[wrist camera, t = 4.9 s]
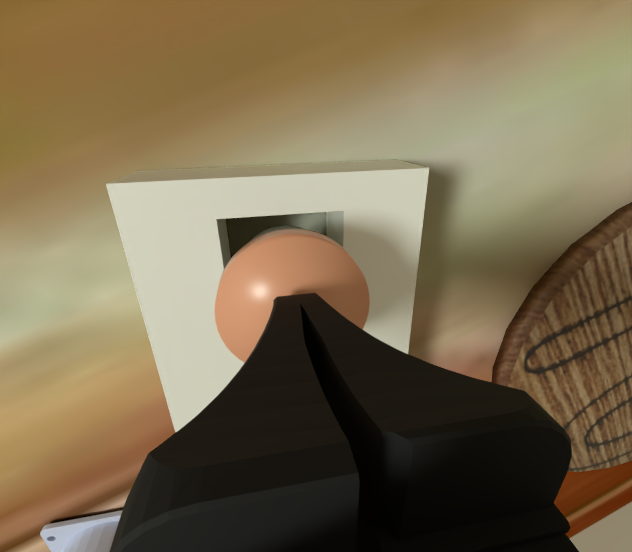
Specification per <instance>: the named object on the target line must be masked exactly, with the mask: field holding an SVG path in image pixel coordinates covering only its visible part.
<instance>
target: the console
mask: <svg viewBox="0 0 632 552" xmlns="http://www.w3.org/2000/svg"><path fill="white" fill-rule="evenodd" d="M428 175H429V168H428V167H424V166H420V165H416V164H412V163H408V162H404V161H400V160H396V159H392V160H369V161H347V162H324V163H301V164H279V165H256V166H233V167H211V168H188V169H165V170H143V171H135V172H133V173H130V174H128V175H125V176H123V177H121V178H118V179H116V180H114V181H111V182H109V183H107V184H106V186H107V189H108V193H109V197H110V200H111V204H112V207H113V211H114V214H115V218H116V222H117V225H118V229H119V232H120V236H121V239H122V243H123V247H124V250H125V254H126V257H127V261H128V264H129V268H130V272H131V275H132V279H133V282H134V286H135V289H136V293H137V297H138V300H139V304H140V307H141V311H142V315H143V318H144V322H145V325H146V329H147V332H148V336H149V340H150V343H151V347H152V350H153V354H154V357H155V361H156V365H157V368H158V372H159V375H160V379H161V382H162V386H163V390H164V393H165V397H166V400H167V404H168V407H169V411H170V415H171V418H172V422H173V425H174V429H175V432H177V431H179V430H180V429H181V428H182V427H184V426H185V425H186V424H187V423H189V422H190V421H191V420H192V419H193V418H195V417H196V416H197V415H198V414H199V413H200V412H201V411H202V410H203V409H204V408H205V407H206V406H207V405H208V404H209V403H210V402H212V401H213V400H214V399H215V398H216V397H217V396H218V395H219V394H220V392H221V391H222V390H223V389H224V388H225V387H226V386H227V385H228V383H229V382H230V381H231V380H232V379H233V377H234V376H235V375H236V374H237V372H238V371H239V370H240V369H241V367H242V366H243V364H244V362H243V361H241V360H240V359H238V358H237V357H236V356H235V355H234V354H233V353H231V351H230V350H229V349H228V348H227V347H226V345H225V344H224V342H223V340H222V339H221V337H220V334H219V332H218V330H217V326H216V322H215V301H216V296H217V290H218V286H219V281H220V278H221V275H222V273H223V271H224V269H225V267H226V265H227V263H228V262H229V261H230V259H231V254H230V247H229V240H228V233H227V226H226V219H227V218H242V217H257V216H272V215H287V214H302V213H317V212H326V224H327V237H329V238H331V239H332V240H334V241H335V242H337V243H338V244H339V245H341V246H342V247H343V248H344V249H345V250H346V251H347V252H348V254H349V255H350V256H351V258H352V259H353V260H354V262H355V263H356V264H357V266H358V267H359V268H360V270H361V271H362V273H363V275H364V277H365V280H366V283H367V286H368V290H369V298H370V305H369V313H368V317H367V321H366V323H365V326H364V328H363V330H364V331H366V332H367V333H369V334H370V335H372V336H373V337H375V338H377V339H379V340H380V341H382V342H384V343H386V344H388V345H390V346H392V347H394V348H396V349H398V350H400V351H402V352H404V353H406V354H408V349H409V341H410V332H411V323H412V315H413V306H414V297H415V288H416V280H417V271H418V262H419V253H420V245H421V236H422V227H423V218H424V210H425V201H426V192H427V184H428Z"/></svg>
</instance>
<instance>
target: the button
mask: <svg viewBox="0 0 632 552" xmlns="http://www.w3.org/2000/svg"><path fill="white" fill-rule="evenodd" d="M307 293H316V294H317V295H319V296H320V297H321V298H322V299H323V300H324V301H326V302H327V303H328V304H329V305H330V306H332V307H333V308H334V309H335V310H336V311H338V312H339V313H340V314H341V315H343V316H344V317H345V318H347V319H348V320H349V321H351V322H352V323H354V324H355V325H356V326H358V327H359V328H361V329H362V330H363V328H364V326H365V323H366V321H367V317H368V313H369V305H370V298H369V290H368V286H367V283H366V280H365V277H364V275H363V273H362V271H361V270H360V268H359V267H358V266H357V264H356V263H355V262H354V260H353V259H352V258H351V256H350V255H349V254H348V252H347V251H346V250H345V249H344V248H343V247H342V246H341V245H339V244H338V243H337V242H335V241H334V240H332V239H331V238H329V237H327V236H325V235H322V234H320V233H317V232H313V231H309V230H305V229H302V228H299V227H295V226H277V227H273V228H269V229H267V230H264V231H262V232H261V233H259V234H257V235H256V236H255V237H253V238H252V239H251V240H250V241H249V242H248V243H247V244H246V245H244V246H243V247H242V248H241V249H240V250H239V251H238V252H236V253H235V254H234V256H233V257H232V258H231V259H230V261H229V262H228V263H227V265H226V267H225V269H224V271H223V273H222V275H221V278H220V281H219V286H218V290H217V296H216V301H215V322H216V326H217V330H218V332H219V334H220V337H221V339H222V340H223V342H224V344H225V345H226V347H227V348H228V349H229V350H230V351H231V353H233V354H234V355H235V356H236V357H237V358H238V359H240V360H241V361H243V362H244V363H245V362H246V360H247V359H248V357H249V356H250V354H251V353H252V351H253V349H254V348H255V346H256V344H257V342H258V341H259V339H260V337H261V335H262V333H263V331H264V329H265V327H266V324H267V322H268V320H269V317H270V315H271V312H272V308H273V303H274V301H273V300H274V299H275V298H276V297H278V296H288V295H298V294H307Z"/></svg>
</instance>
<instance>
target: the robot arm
mask: <svg viewBox="0 0 632 552" xmlns="http://www.w3.org/2000/svg"><path fill="white" fill-rule="evenodd" d="M273 301H274V303H273V308H272V312H271V315H270V317H269V320H268V322H267V324H266V327H265V329H264V331H263V333H262V335H261V337H260V339H259V341H258V342H257V344H256V346H255V348H254V349H253V351H252V353H251V354H250V356H249V357H248V359H247V360H246V362H245V363H244V364H243V366H242V367H241V369H240V370H239V371H238V372H237V374H236V375H235V376H234V377H233V379H232V380H231V381H230V382H229V383H228V385H227V386H226V387H225V388H224V389H223V390H222V391H221V392H220V394H219V395H218V396H217V397H216V398H215V399H214V400H213V401H212V402H210V403H209V404H208V405H207V406H206V407H205V408H204V409H203V410H202V411H201V412H200V413H199V414H198V415H197V416H196V417H195V418H193V419H192V420H191V421H190V422H189V423H187V424H186V425H185V426H184V427H182V428H181V429H180V430H179V431H177V432H176V433H175V434H173V435H172V436H171V437H170V438H168V439H167V440H166V441H164V442H163V443H162V444H161V445H159V446H158V447H157V448H155V449H154V450H152V451H151V452H150V453H149V454H148V455H147V457H146V459H145V461H144V463H143V465H142V467H141V470H140V472H139V474H138V476H137V478H136V480H135V483H134V485H133V487H132V489H131V491H130V493H129V495H128V498H127V500H126V503H125V505H124V508H123V510H121V511H116V512H110V513H105V514H99V515H94V516H89V517H83V518H78V519H73V520H67V521H62V522H57V523H51V524H47V525H45V526H44V527H43V529H42V531H41V533H40V534H41V536H42V538H43V540H44V541H45V543H46V544H47V546H48V548H49V549H50V551H51V552H579V551H578V550H577V549H576V547H575V546H574V545H573V543H572V542H571V541H570V539H569V538H568V537H567V535H566V534H565V533H567V532H568V531H569V529H570V526H569V523H568V521H567V519H566V518H565V517H564V516H563V514H562V513H561V512H560V511H559V509H558V508H557V507H556V506H555V504H554V501H555V498H556V496H557V494H558V492H559V489H560V487H561V485H562V482H563V480H564V478H565V476H566V473H567V471H568V469H569V465H570V461H571V458H572V446H571V439H570V437H569V436H568V434H567V432H566V431H565V429H564V428H563V427H562V426H561V425H560V424H559V423H558V422H557V421H556V420H555V419H554V418H553V417H552V416H550V415H549V414H548V413H547V412H546V411H545V410H544V409H543V408H542V407H541V406H540V405H539V404H538V403H537V402H536V401H535V400H534V399H533V398H532V397H531V396H530V395H529V394H528V393H527V392H525V391H524V390H520V389H516V388H512V387H508V386H504V385H499V384H495V383H491V382H487V381H483V380H479V379H475V378H472V377H469V376H465V375H462V374H459V373H456V372H453V371H450V370H447V369H444V368H441V367H438V366H435V365H433V364H430V363H427V362H425V361H423V360H420V359H418V358H416V357H413V356H411V355H408V354H406V353H404V352H402V351H400V350H398V349H396V348H394V347H392V346H390V345H388V344H386V343H384V342H382V341H380V340H379V339H377V338H375V337H373V336H372V335H370V334H369V333H367V332H366V331H364V330H362V329H361V328H359V327H358V326H356V325H355V324H354V323H352V322H351V321H349V320H348V319H347V318H345V317H344V316H343V315H341V314H340V313H339V312H338V311H336V310H335V309H334V308H333V307H332V306H330V305H329V304H328V303H327V302H326V301H324V300H323V299H322V298H321V297H320V296H319V295H317V294H316V293H307V294H298V295H288V296H278V297H276V298H275V299H274V300H273Z"/></svg>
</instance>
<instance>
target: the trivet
mask: <svg viewBox="0 0 632 552" xmlns="http://www.w3.org/2000/svg"><path fill="white" fill-rule="evenodd" d="M492 383H495V384H499V385H504V386H508V387H512V388H516V389H520V390H524V391H525V392H527V393H528V394H529V395H530V396H531V397H532V398H533V399H534V400H535V401H536V402H537V403H538V404H539V405H540V406H541V407H542V408H543V409H544V410H545V411H546V412H547V413H548V414H549V415H550V416H552V417H553V418H554V419H555V420H556V421H557V422H558V423H559V424H560V425H561V426H562V427H563V428H564V429H565V431H566V432H567V434H568V436H569V437H570V439H571V446H572V458H571V461H570V465H569V469H568V471H572V472H582V471H589V470H596V469H603V468H610V467H613V466H616V465H619V464H622V463H625V462H628V461H632V202H631V203H629V204H627V205H625V206H623V207H621V208H620V209H618V210H616V211H615V212H614V213H612V214H611V215H610V216H608V217H607V218H606V219H605V220H603V221H602V222H601V223H599V224H598V225H597V226H595V227H594V228H593V229H592V230H590V231H589V232H588V233H586V234H585V235H584V236H582V237H581V238H580V239H579V240H577V241H576V242H575V243H573V244H572V245H571V246H570V247H569V248H568V249H567V250H566V251H565V252H564V254H563V255H562V256H561V257H560V258H559V259H558V260H557V261H556V262H555V263H554V264H553V266H552V267H551V268H550V269H549V270H548V271H547V272H546V273H545V274H544V275H543V276H542V278H541V279H540V280H539V281H538V282H537V283H536V284H535V285H534V286H533V288H532V289H531V291H530V292H529V294H528V296H527V297H526V299H525V300H524V302H523V304H522V305H521V307H520V308H519V310H518V312H517V313H516V315H515V316H514V318H513V320H512V321H511V323H510V324H509V326H508V328H507V329H506V332H505V335H504V338H503V341H502V343H501V346H500V349H499V352H498V355H497V357H496V360H495V363H494V366H493V373H492Z"/></svg>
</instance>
